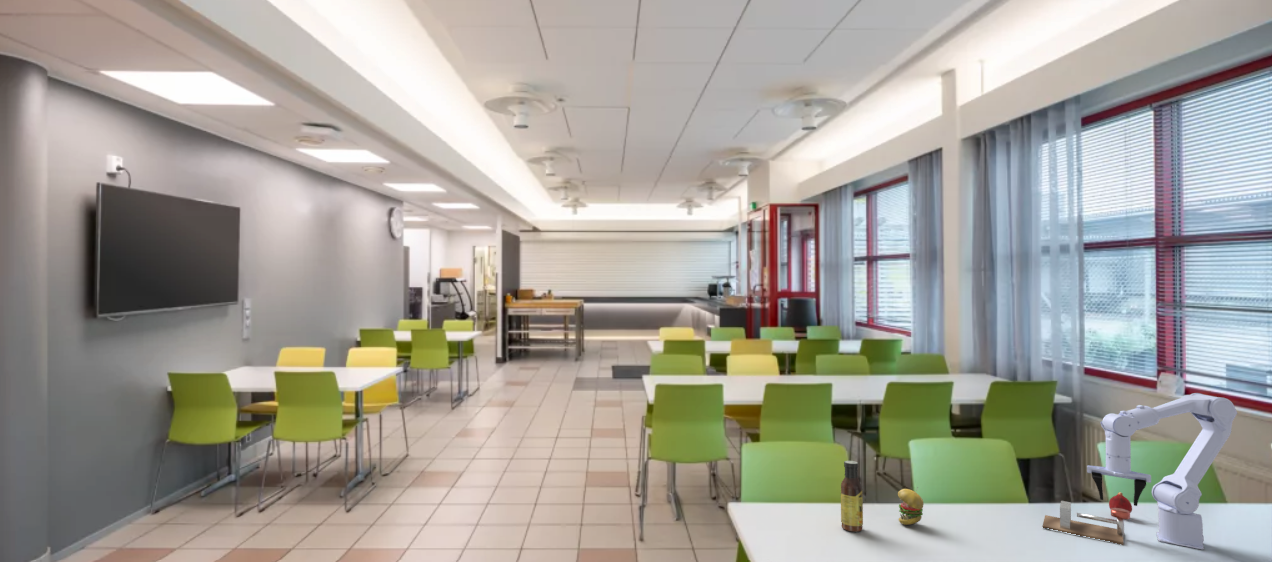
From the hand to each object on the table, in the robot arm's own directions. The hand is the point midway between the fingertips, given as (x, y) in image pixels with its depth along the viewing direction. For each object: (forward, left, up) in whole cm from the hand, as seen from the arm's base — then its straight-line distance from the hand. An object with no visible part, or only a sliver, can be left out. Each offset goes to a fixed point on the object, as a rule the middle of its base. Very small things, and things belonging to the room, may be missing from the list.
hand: (1118, 501), depth 172 cm
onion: (-1, -22, -11) cm, 24 cm away
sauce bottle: (+63, +44, -11) cm, 78 cm away
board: (+9, 0, -10) cm, 14 cm away
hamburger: (+50, +29, -11) cm, 59 cm away
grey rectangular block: (+13, 0, -10) cm, 16 cm away
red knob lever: (+4, 0, -9) cm, 10 cm away
